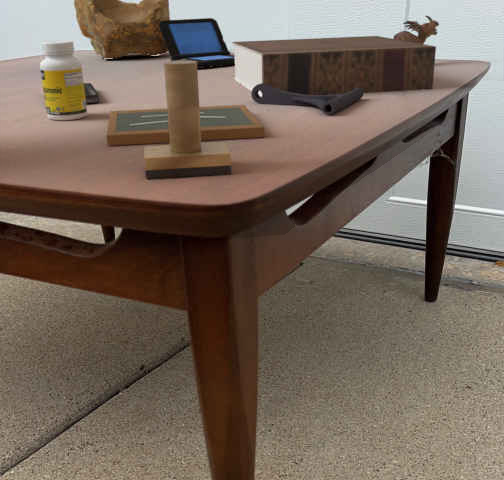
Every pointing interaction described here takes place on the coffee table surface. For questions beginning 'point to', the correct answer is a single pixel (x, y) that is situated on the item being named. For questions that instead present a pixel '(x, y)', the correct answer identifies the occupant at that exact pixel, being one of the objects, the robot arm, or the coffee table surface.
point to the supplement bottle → (62, 81)
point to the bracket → (305, 98)
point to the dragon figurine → (418, 31)
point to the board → (157, 129)
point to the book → (335, 65)
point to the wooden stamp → (185, 131)
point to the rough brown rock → (123, 26)
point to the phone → (90, 93)
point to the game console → (196, 41)
